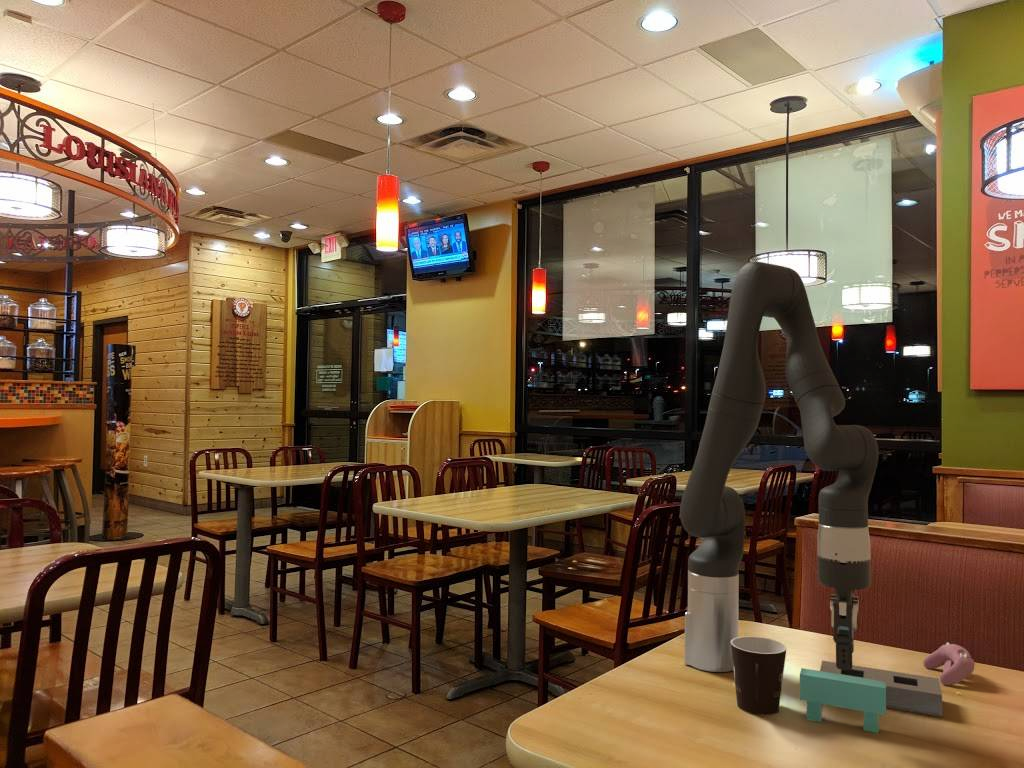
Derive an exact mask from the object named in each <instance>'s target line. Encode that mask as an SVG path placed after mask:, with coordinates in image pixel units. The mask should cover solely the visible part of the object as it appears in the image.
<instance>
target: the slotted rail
mask: <svg viewBox="0 0 1024 768" xmlns="http://www.w3.org/2000/svg"><path fill="white" fill-rule="evenodd" d="M819 671H823V672H829V673H836V674H842V675H848V676H854V677H861V678H867V679H873V680H880V681H886V709H891V710H897V711H902V712H903V711H904V712H908V713H914V714H921V715H927V716H933V717H938V718H943V693H942V688H941V684H940V683H941V682H940V677H939V678H938V677H931V676H927V675H926V676H925V675H918V674H912V673H907V672H906V673H905V672H900V671H893V670H886V669H880V668H879V669H878V668H873V667H866V666H861V665H853V664H852V670H842V669H838V668H837V667H836V661H835V662H834V661H828V660H827V661H826V660H822V661H821V665H820V669H819Z"/></svg>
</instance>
